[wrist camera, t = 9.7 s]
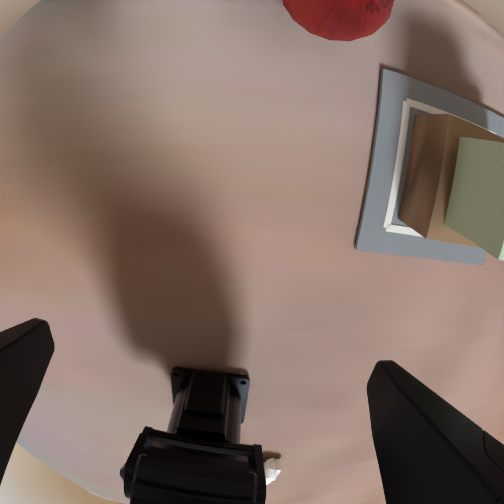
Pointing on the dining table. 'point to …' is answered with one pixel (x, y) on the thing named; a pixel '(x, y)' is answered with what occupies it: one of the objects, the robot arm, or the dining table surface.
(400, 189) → the blueprint mat
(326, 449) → the dining table surface
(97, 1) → the dining table surface
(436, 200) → the walnut base
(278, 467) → the white creature statuette
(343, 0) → the onion
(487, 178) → the sage block
